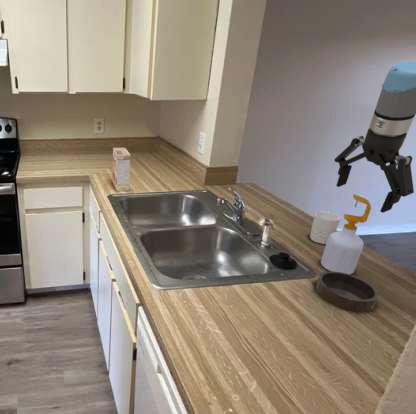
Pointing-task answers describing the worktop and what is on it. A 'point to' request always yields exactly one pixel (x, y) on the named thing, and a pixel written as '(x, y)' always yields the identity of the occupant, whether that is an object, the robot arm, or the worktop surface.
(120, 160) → the coffeecake box
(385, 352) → the worktop surface
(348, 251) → the soap bottle
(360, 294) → the holder
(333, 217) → the white cup
